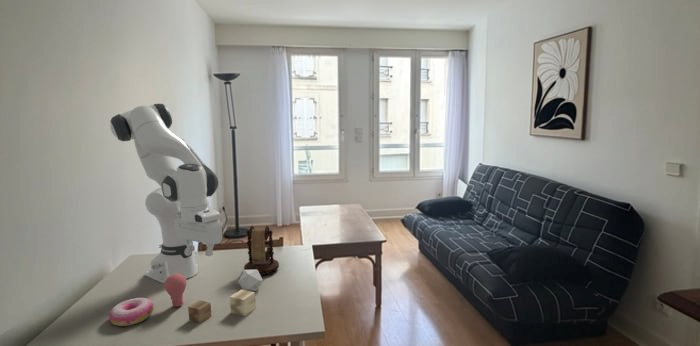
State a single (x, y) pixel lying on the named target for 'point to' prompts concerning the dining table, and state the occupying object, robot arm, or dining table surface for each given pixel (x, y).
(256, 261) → the scroll
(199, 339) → the dining table surface
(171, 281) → the light bulb
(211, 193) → the robot arm
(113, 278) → the dining table surface
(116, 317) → the donut
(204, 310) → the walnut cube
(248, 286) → the die
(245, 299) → the oak cube
